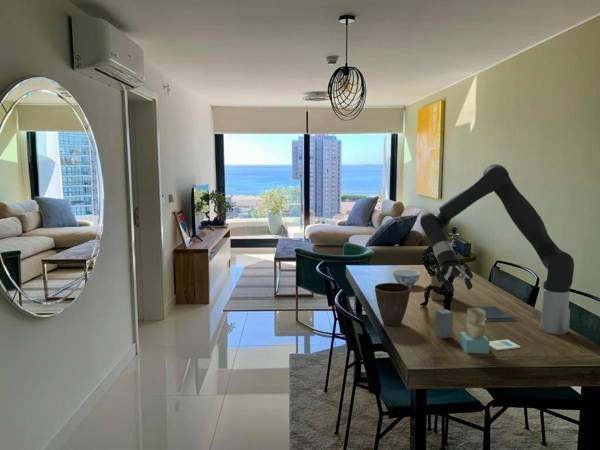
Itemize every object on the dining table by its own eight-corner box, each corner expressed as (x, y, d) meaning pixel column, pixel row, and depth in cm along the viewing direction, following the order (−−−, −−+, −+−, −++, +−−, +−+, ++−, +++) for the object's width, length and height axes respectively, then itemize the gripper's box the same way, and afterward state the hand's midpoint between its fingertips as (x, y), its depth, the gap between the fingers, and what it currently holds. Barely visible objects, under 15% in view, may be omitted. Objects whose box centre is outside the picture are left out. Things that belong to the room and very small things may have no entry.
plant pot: (384, 331, 178) (384, 293, 176) (368, 319, 192) (368, 284, 190) (416, 327, 182) (417, 290, 180) (398, 316, 196) (399, 281, 194)
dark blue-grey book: (518, 318, 188) (483, 319, 188) (518, 323, 188) (483, 323, 188) (496, 304, 208) (465, 305, 207) (496, 308, 208) (465, 308, 208)
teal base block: (481, 345, 164) (482, 332, 163) (488, 354, 156) (489, 340, 155) (459, 344, 164) (460, 332, 164) (465, 353, 157) (466, 340, 156)
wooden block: (450, 296, 226) (452, 258, 224) (451, 301, 217) (453, 262, 214) (430, 295, 229) (431, 257, 227) (431, 300, 220) (432, 261, 217)
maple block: (476, 333, 162) (478, 307, 161) (483, 338, 158) (485, 311, 157) (465, 334, 161) (467, 308, 160) (472, 338, 157) (474, 311, 156)
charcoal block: (445, 333, 176) (446, 309, 174) (451, 337, 171) (452, 312, 170) (435, 334, 175) (436, 310, 173) (441, 338, 170) (442, 313, 169)
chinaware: (421, 289, 239) (421, 276, 238) (393, 288, 242) (393, 275, 241) (418, 282, 254) (418, 269, 253) (392, 282, 256) (392, 269, 255)
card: (507, 340, 167) (507, 339, 167) (520, 347, 160) (520, 346, 160) (484, 343, 165) (484, 341, 165) (496, 350, 158) (496, 348, 158)
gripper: (432, 250, 172) (448, 285, 163) (464, 248, 175) (481, 283, 166) (425, 260, 178) (439, 295, 168) (456, 258, 181) (472, 293, 171)
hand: (460, 289), depth 167 cm, fingers open, 8 cm apart
